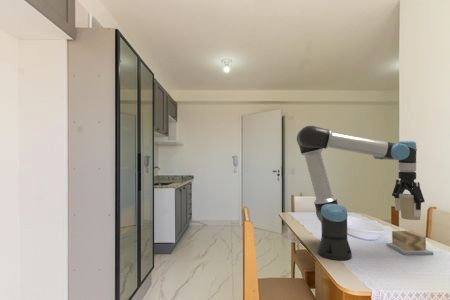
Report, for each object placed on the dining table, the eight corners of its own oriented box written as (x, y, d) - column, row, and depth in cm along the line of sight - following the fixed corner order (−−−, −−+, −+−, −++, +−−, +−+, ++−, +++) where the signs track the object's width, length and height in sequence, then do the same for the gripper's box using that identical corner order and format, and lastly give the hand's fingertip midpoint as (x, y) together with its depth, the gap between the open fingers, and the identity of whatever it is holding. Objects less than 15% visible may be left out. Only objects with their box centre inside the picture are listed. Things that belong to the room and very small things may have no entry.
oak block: (405, 251, 130) (405, 236, 130) (392, 244, 140) (392, 230, 140) (425, 250, 130) (425, 236, 130) (410, 244, 140) (410, 230, 140)
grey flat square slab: (404, 255, 128) (404, 252, 128) (386, 245, 142) (386, 243, 142) (433, 255, 128) (433, 252, 128) (412, 245, 142) (412, 242, 142)
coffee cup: (426, 221, 127) (425, 195, 128) (404, 220, 129) (403, 195, 130) (416, 217, 136) (415, 193, 137) (396, 216, 138) (395, 193, 139)
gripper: (434, 173, 123) (433, 219, 123) (398, 170, 148) (398, 208, 148) (418, 173, 123) (417, 219, 123) (384, 169, 148) (384, 208, 148)
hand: (407, 213), depth 135 cm, fingers open, 13 cm apart
